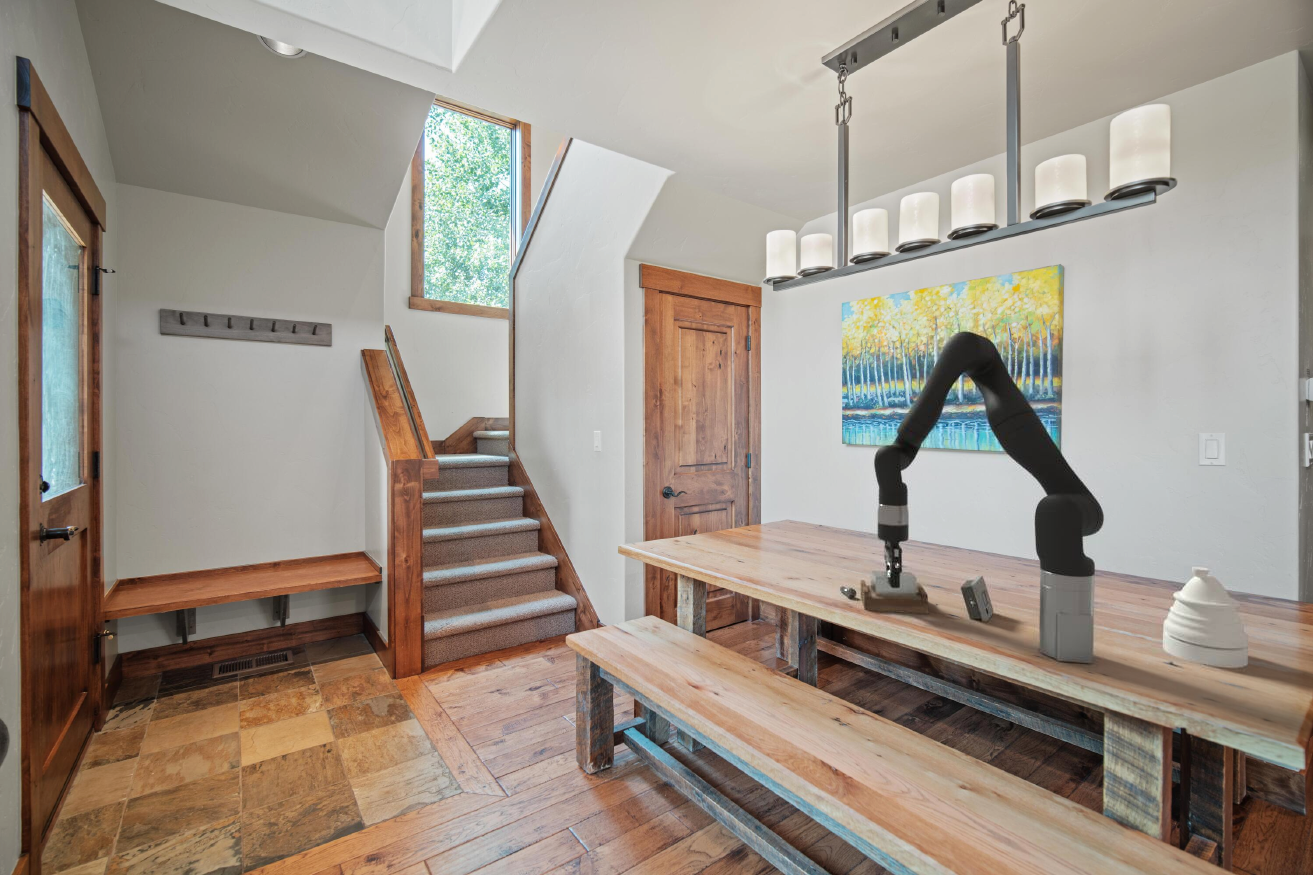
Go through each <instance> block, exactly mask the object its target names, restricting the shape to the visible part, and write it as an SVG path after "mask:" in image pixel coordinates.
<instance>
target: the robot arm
mask: <svg viewBox="0 0 1313 875" xmlns="http://www.w3.org/2000/svg"><path fill="white" fill-rule="evenodd" d="M964 373H965V374H966V375H967V376H968V377H969V379H971V380H972V381H971V382H973V384H974V385H975V387H976V388H977V389H978V391H979V392H980V395H981V397H982V398H983V402H984V408H985V414H986V419H987V420H986V421H987V422H988V423H987V424H988V426H989V427H990V430H991V432H992V433H993V435H994V436H995V438H996V440H997V441H998V443H999V445H1000V447H1001V448H1002V449H1003V451H1004V452H1005V453H1006V454H1007V455H1008V456H1009V457H1010V458H1011V459H1012V460H1013V461H1014V462H1016V463H1017V464H1018V465H1019V466H1020V467H1022V468H1023V469H1024V470H1025V471H1027V472H1028V473H1029V474H1030V475H1031V476H1032V477H1033V478H1034V479H1035V480H1037V482H1038V484H1039V485H1040V486H1041V488H1042V490H1043V491H1044V492H1045V494H1046V496H1044V497H1043V498H1042V499H1040V500H1039V501H1038V503H1037V504H1036V508H1035V513H1034V537H1035V538H1034V539H1035V553H1036V555H1037V557H1038V559H1039V569H1040V570H1039V572H1040V574H1039V627H1038V628H1039V630H1038V631H1039V633H1038V634H1039V635H1038V636H1039V642H1038V643H1039V644H1038V648H1039V651H1040V652H1041V653H1042V654H1044V655H1045V656H1048V657H1050V658H1052V659H1055V660H1056V661H1057V662H1071V663H1080V664H1081V663H1082V664H1093V662H1094V648H1095V647H1094V641H1095V640H1094V639H1095V638H1094V636H1095V634H1094V630H1095V584H1096V583H1095V580H1096V579H1095V577H1096V576H1095V574H1096V570H1095V569H1096V568H1095V567H1096V566H1095V561H1094V559H1092V558H1091V557H1089V556H1087V555H1086V554H1085V551H1084V537H1089V536H1092V535H1095V534H1096V533H1098V532H1099V531H1100V530H1101V529H1102V528H1103V525H1104V520H1105V517H1104V516H1105V515H1104V511H1103V508H1102V507H1101V504H1100V503H1099V501H1098V500H1097V498H1096V497H1095V496H1094V494H1093V493H1092V492H1091V490H1089V488H1088V487H1087V486H1086V484H1084V482H1083V481H1082V480H1081V479H1080V478H1079V476H1078V475H1077V474H1076V472H1075V471H1074V469H1073V468H1072V467H1071V466H1070V464H1069V463H1068V461H1067V459H1065V457H1064V455H1063V452H1061V450H1060V448H1059V447H1058V446H1057V444H1056V443H1055V440H1053V439H1052V436H1051V435H1050V433H1049V432H1048V430H1047V428H1046V427H1045V425H1044V424H1043V422H1042V420H1041V419H1040V417H1039V416H1038V414H1037V412H1036V411H1035V410H1034V408H1033V406H1031V404H1030V403H1029V401H1028V400H1027V398H1026V396H1025V395H1024V394H1023V392H1022V390H1020V388H1019V387H1018V386H1017V384H1016V383H1015V381H1014V380H1013V379H1012V377H1011V375H1010V374H1009V373H1010V372H1009V371H1008V369H1007V367H1006V365H1005V363H1004V360H1003V358H1002V357H1001V355H1000V352H999V350H998V348H997V346H996V345H995V343H994V342H993V341H992V340H991V339H989V338H988V337H985V336H983V335H980V334H979V333H975V332H972V331H960V332H959V331H958V332H957V333H955V334H954V335H952V336H951V337H950V338H949V339H947V341H946V343H945V344H944V346H943V349H942V350H941V352H940V354H939V357H938V358H937V360H936V363H935V364H934V367H933V368H932V370H931V373H930V375H929V376H928V378H927V380H926V383H924V386H923V388H922V389H921V392H920V393H919V396H918V397H917V399H916V400H915V402H914V403H913V405H912V406H911V408H910V409H909V410H908V412H907V414H906V415H905V416H904V418H903V419H902V420H901V422H900V423H899V425H898V426H897V428H896V433H897V436H896V438H895V439H894V441H893V443H892V444H888V445H883V446H881V447H880V448H878V450H876V453H875V455H874V459H873V461H874V462H873V464H874V472H875V476H876V482H877V485H878V508H877V538H878V539H879V540H880V541H883V542H884V545H883V550H884V554H883V558H884V563H885V571H887V570H890V586H891V587H892V588H899V587H900V574H901V573H902V572H903V569H902V568H903V567H902V566H903V559H902V557H903V548H901V546H900V543H901V542H903V543H904V542H907V541H909V535H910V534H909V531H910V530H909V520H910V519H909V518H910V517H909V516H910V515H909V513H910V512H909V508H908V507H909V506H908V504H909V503H908V502H909V500H908V499H909V498H908V496H909V493H908V491H909V490H908V486H907V484H906V483H905V482H903V478H902V477H903V475H902V471H904V470H906V469H908V468H909V467H910V466H911V464H912V463H913V462H914V460H915V459H916V457H917V455H918V452H920V450H921V446H922V444H923V442H924V441H925V439H926V438H927V437H928V436H929V435H930V434H931V432H932V430H933V429H934V428H935V426H936V424H937V423H938V422H939V420H940V418H941V415H942V414H943V410H944V407H945V404H946V400H947V397H948V395H949V393H950V391H951V389H952V388H953V386H954V384H956V382H957V380H959V378H960V377H961V376H962V375H963V374H964ZM896 566H897V567H896Z"/></svg>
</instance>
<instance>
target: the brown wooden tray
mask: <svg viewBox="0 0 1313 875" xmlns="http://www.w3.org/2000/svg"><path fill="white" fill-rule="evenodd" d="M860 598H861V602H862V605H863V610H865V611H881V612H882V611H883V612H894V611H900V612H899V613H909V612H912V614H924V615H925V614H927V615H928V614H929V601H928V600H929V596H928V593H927V592H926V590H925V588H924V587H923V586H922V584H921V583H920V582H916V597H903V596H875V594H874V593H873V592H872V590H871V585H868V584H867V583H866V581H865V580H864V579H860ZM901 611H903V612H901Z"/></svg>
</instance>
